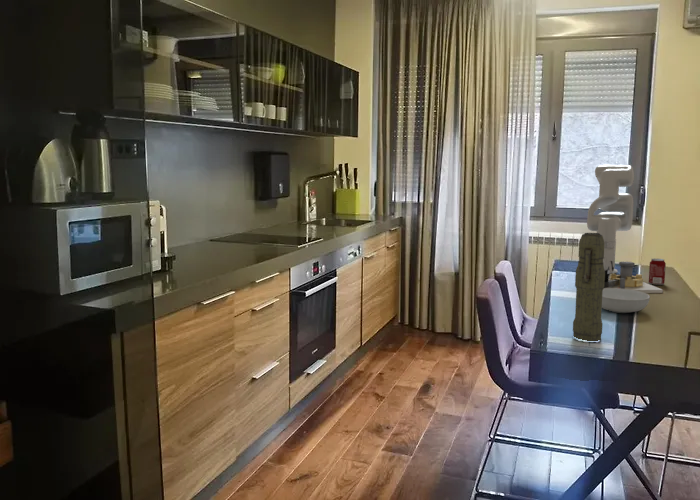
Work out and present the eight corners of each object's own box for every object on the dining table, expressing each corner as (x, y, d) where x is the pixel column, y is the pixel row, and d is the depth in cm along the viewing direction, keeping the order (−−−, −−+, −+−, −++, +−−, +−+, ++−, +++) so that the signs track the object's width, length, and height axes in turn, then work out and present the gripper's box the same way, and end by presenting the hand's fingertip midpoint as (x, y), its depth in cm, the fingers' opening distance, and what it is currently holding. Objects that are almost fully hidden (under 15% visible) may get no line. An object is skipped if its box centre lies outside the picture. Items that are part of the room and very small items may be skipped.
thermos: (603, 336, 197) (608, 232, 192) (599, 345, 187) (605, 236, 182) (574, 332, 201) (579, 231, 196) (570, 342, 191) (575, 234, 186)
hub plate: (591, 282, 285) (592, 258, 283) (636, 282, 285) (637, 258, 283) (613, 293, 261) (614, 267, 259) (662, 293, 261) (664, 267, 259)
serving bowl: (615, 319, 219) (616, 301, 218) (579, 306, 239) (580, 289, 238) (661, 314, 224) (662, 297, 223) (622, 302, 244) (623, 286, 243)
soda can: (662, 286, 275) (664, 261, 274) (647, 284, 279) (648, 259, 278) (665, 283, 281) (667, 259, 279) (649, 282, 285) (651, 257, 283)
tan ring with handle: (621, 279, 282) (621, 270, 281) (648, 284, 271) (648, 275, 270) (588, 285, 269) (589, 276, 269) (615, 290, 258) (616, 280, 257)
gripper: (589, 242, 273) (588, 281, 276) (606, 247, 259) (604, 288, 261) (605, 242, 274) (603, 280, 277) (623, 247, 259) (620, 287, 262)
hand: (603, 284), depth 269 cm, fingers closed
